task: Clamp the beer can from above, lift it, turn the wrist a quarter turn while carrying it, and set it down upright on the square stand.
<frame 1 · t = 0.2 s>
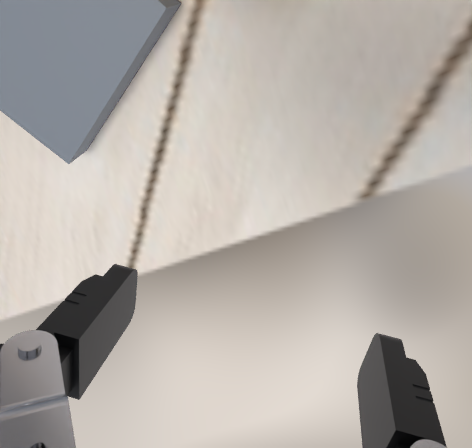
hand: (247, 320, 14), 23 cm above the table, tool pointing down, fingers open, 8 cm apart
stand: (45, 15, 33), on the table
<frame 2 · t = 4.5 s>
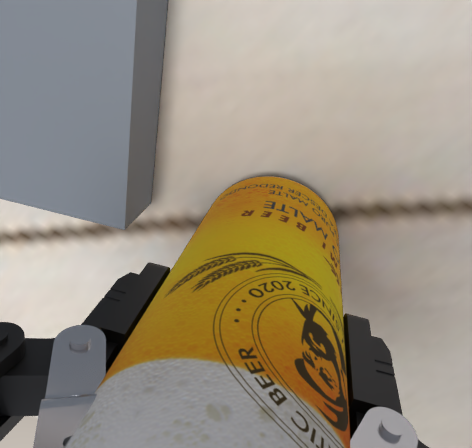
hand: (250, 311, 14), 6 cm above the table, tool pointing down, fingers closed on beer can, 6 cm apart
beer can: (272, 230, 20), on the table, touching gripper
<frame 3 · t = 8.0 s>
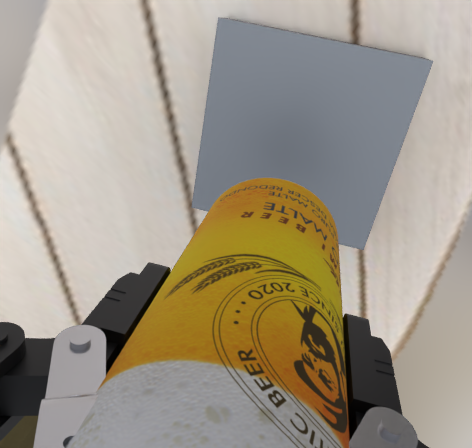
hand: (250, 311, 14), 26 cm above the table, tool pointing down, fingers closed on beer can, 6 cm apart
beer can: (271, 231, 20), point 19 cm above the table, touching gripper
stand: (299, 135, 37), on the table
canister: (40, 401, 60), on the table
when the fingers open (10 cm above the table, at t = 11.8 s): beer can drops 1 cm, resting on stand.
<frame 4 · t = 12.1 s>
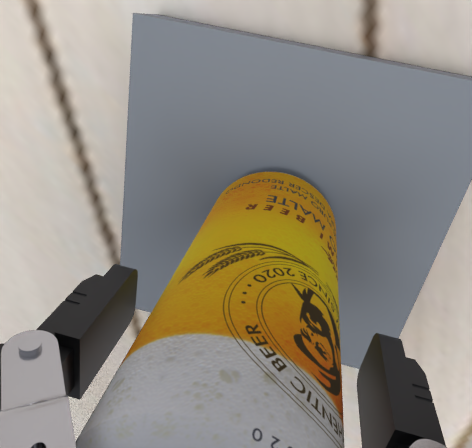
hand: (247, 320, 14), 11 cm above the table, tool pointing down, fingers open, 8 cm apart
beer can: (274, 221, 21), point 3 cm above the table, touching stand
stand: (280, 196, 24), on the table
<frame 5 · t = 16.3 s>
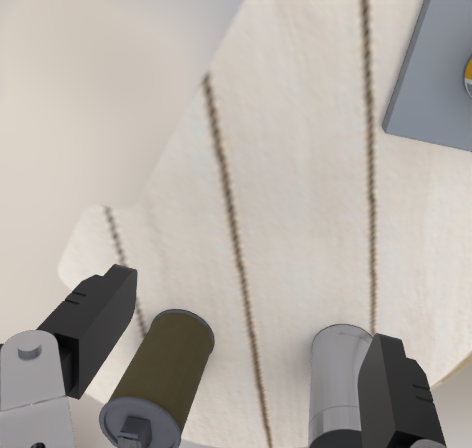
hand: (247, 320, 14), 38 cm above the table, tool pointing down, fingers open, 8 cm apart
canister: (182, 336, 66), on the table
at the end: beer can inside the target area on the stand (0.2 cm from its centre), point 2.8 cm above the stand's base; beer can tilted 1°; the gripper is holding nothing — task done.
